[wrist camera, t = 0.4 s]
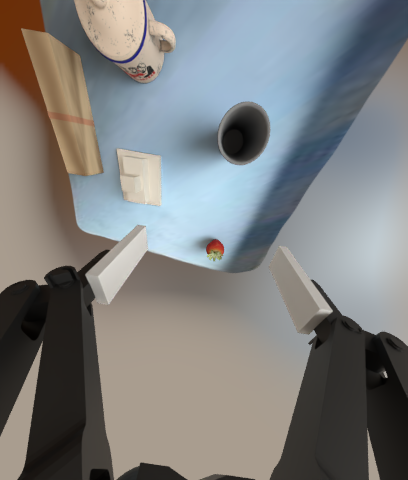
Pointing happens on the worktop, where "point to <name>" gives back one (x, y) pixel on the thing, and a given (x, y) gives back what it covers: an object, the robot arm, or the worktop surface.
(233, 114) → the cup
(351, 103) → the worktop surface
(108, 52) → the teacup with lid
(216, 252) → the fruit
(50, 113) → the beam
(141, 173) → the fulcrum
